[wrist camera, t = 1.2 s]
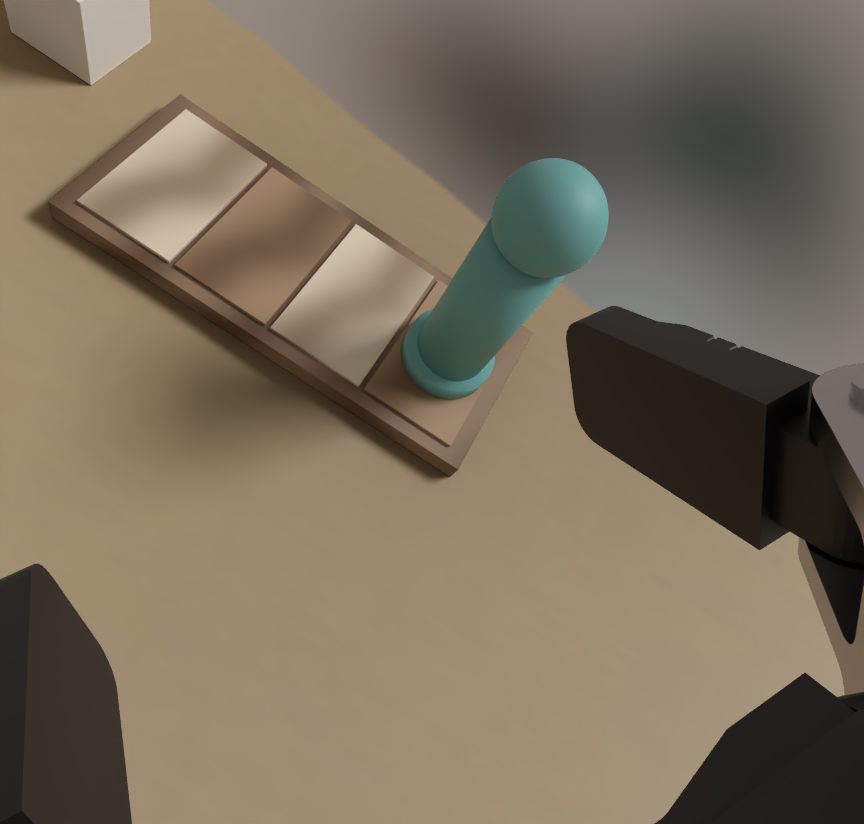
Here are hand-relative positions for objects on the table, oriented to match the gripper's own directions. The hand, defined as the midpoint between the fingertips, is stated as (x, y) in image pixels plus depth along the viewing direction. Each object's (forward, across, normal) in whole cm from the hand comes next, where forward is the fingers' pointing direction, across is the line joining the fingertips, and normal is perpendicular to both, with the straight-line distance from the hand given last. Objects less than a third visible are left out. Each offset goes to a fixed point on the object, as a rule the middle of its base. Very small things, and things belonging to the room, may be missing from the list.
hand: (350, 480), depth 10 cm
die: (+40, -1, -8) cm, 41 cm away
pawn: (+22, -11, +11) cm, 27 cm away
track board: (+27, -6, +6) cm, 29 cm away
